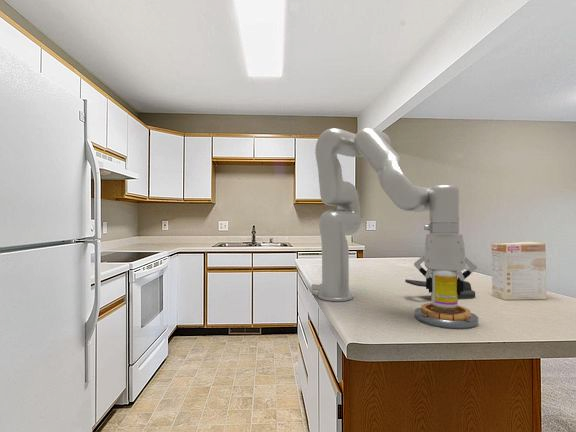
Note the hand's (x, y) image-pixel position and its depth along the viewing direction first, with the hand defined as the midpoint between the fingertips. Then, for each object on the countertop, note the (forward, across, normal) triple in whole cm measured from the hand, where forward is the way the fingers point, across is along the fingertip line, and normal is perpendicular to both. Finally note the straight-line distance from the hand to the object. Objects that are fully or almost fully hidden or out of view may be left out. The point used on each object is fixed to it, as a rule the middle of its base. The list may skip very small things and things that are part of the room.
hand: (444, 292), depth 91 cm
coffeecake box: (+8, +25, +37) cm, 45 cm away
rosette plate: (+7, 0, 0) cm, 7 cm away
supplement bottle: (+4, 0, 0) cm, 4 cm away
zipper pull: (+8, 0, +27) cm, 28 cm away
